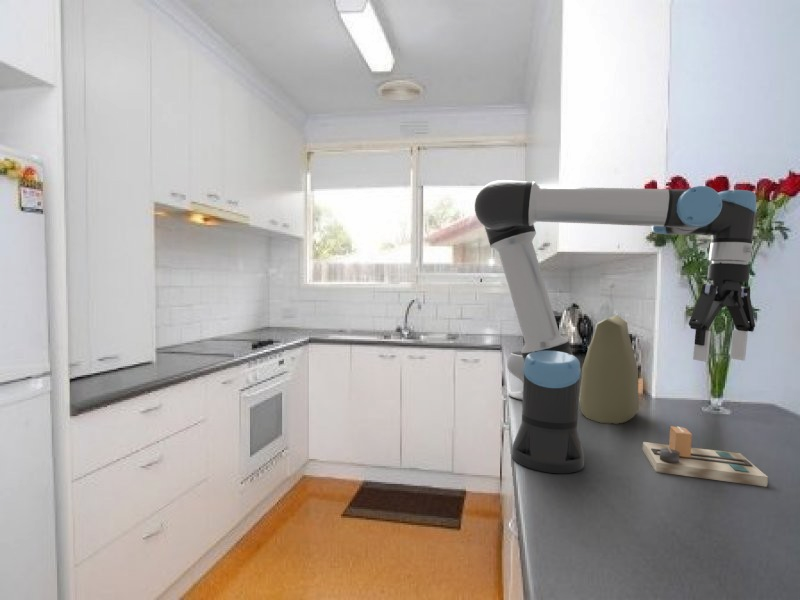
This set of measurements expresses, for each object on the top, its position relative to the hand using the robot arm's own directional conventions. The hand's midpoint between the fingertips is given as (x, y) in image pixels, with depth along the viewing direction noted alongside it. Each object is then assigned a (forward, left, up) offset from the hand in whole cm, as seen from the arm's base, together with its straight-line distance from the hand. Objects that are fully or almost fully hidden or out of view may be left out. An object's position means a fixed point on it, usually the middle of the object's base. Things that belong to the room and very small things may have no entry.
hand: (719, 360), depth 106 cm
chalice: (-41, +48, -24) cm, 68 cm away
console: (-3, -2, -23) cm, 24 cm away
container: (-17, +37, -24) cm, 47 cm away
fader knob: (-7, -2, -21) cm, 22 cm away
